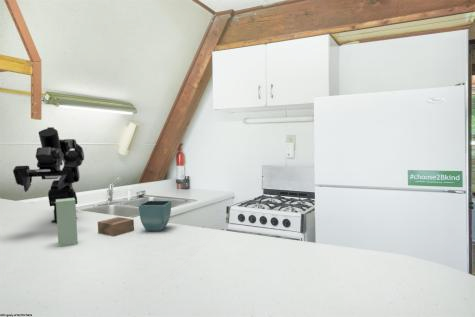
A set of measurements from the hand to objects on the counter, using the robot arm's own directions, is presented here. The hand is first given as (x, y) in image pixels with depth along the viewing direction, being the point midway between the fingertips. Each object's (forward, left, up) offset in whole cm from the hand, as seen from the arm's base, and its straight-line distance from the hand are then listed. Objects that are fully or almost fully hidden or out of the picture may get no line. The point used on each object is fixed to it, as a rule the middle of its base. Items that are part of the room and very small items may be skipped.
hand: (41, 189), depth 108 cm
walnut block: (-12, +18, -16) cm, 26 cm away
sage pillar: (+2, +11, -16) cm, 19 cm away
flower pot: (-17, +30, -16) cm, 37 cm away
